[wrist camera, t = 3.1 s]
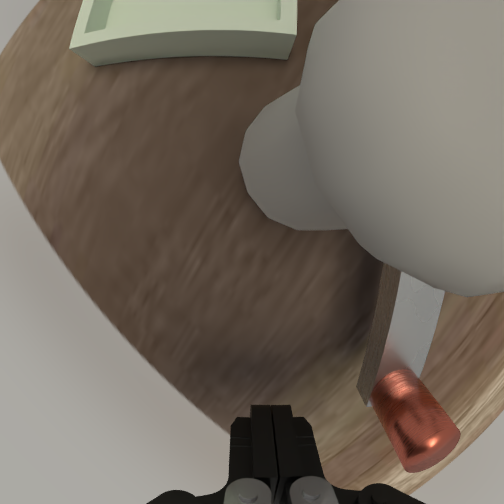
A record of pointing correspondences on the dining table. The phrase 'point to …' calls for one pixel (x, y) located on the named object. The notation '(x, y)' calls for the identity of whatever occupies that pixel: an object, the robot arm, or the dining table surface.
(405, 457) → the crank
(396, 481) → the dining table surface
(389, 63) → the salt shaker
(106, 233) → the dining table surface
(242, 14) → the tray
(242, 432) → the robot arm
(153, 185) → the dining table surface
